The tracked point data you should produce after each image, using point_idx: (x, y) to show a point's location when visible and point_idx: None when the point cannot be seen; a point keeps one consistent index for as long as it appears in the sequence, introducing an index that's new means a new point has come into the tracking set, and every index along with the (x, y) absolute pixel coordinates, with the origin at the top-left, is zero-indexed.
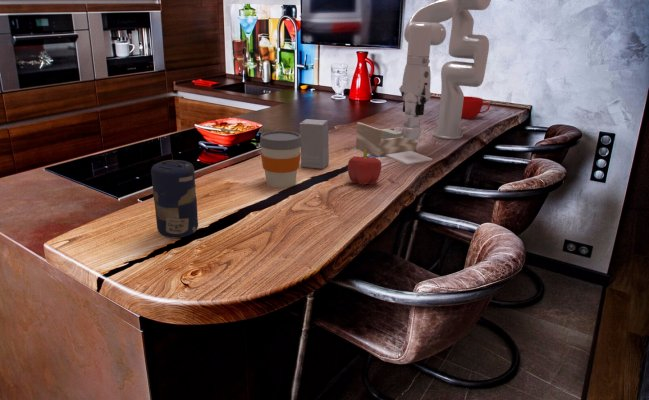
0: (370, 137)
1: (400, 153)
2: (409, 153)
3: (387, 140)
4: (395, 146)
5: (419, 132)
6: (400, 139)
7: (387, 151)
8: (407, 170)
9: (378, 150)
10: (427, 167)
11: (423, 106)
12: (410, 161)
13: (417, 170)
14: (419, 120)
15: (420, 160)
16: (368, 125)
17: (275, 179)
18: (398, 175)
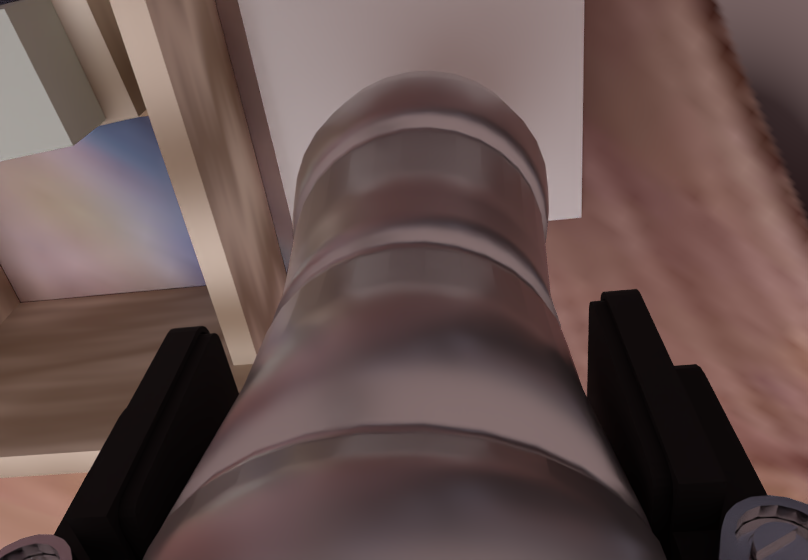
0: None
1: (296, 106)
2: (321, 16)
3: (241, 292)
4: (230, 155)
5: (537, 152)
6: (192, 120)
7: (263, 226)
8: (689, 282)
9: None
10: (730, 91)
11: (753, 485)
12: (555, 166)
13: (736, 217)
14: (531, 239)
15: (574, 59)
16: (9, 458)
17: None
18: (734, 384)
